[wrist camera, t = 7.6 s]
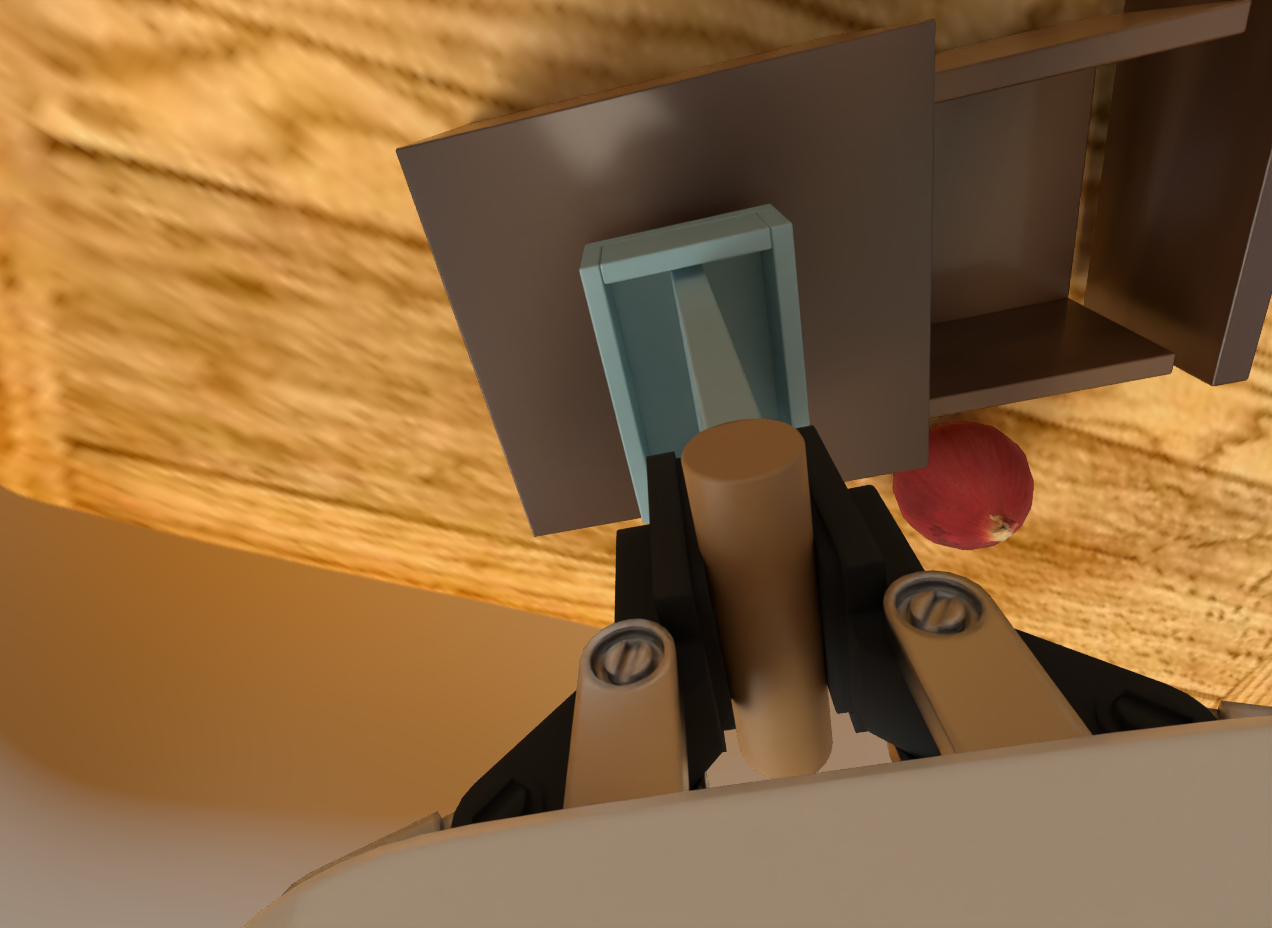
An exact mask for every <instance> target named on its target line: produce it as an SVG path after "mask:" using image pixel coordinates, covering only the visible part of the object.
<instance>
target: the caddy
mask: <svg viewBox="0 0 1272 928" xmlns="http://www.w3.org/2000/svg"><path fill="white" fill-rule="evenodd" d="M579 272H580V276H581V280H582V284H583V288H584V292H585V296H586V300H587V304H588V308H589V312H590V316H591V319H592V323H593V327H594V331H595V335H596V339H597V343H598V347H599V351H600V355H601V359H602V363H603V367H604V371H605V375H606V379H607V383H608V387H609V391H610V395H611V399H612V403H613V407H614V411H615V415H616V419H617V423H618V427H619V431H620V435H621V439H622V443H623V447H624V451H625V455H626V459H627V463H628V467H629V471H630V475H631V479H632V482H633V486H634V490H635V494H636V498H637V502H638V506H639V510H640V514H641V518H642V522H643V523H644V524H645V523H649V504H648V485H647V465H646V456H651V455H656V454H662V453H667V452H672V451H674V452H675V455H676V458H681V462H682V467H683V472H684V477H685V482H686V487H687V492H688V497H689V502H690V507H691V511H692V516H693V521H694V526H695V531H696V536H697V541H698V546H699V550H700V553H701V555H702V557H703V562H704V567H705V572H706V576H707V581H708V586H709V591H710V596H711V601H712V606H713V611H714V616H715V621H716V626H717V631H718V636H719V641H720V646H721V651H722V656H723V661H724V666H725V671H726V676H727V680H728V685H729V690H730V695H731V701H732V707H733V713H734V719H735V725H736V732H737V737H738V742H739V746H740V751H741V753H742V755H743V757H744V759H745V760H746V762H747V763H748V764H749V765H750V766H751V767H752V768H753V769H754V770H755V771H757V772H758V773H760V774H762V775H763V776H765V777H768V778H770V779H777V778H784V777H791V776H798V775H806V774H813V773H816V772H817V771H819V770H820V769H821V768H822V767H823V765H824V764H825V763H826V761H827V760H828V758H829V756H830V753H831V749H832V743H833V742H832V730H831V720H830V708H829V698H828V687H827V680H826V669H825V658H824V648H823V637H822V626H821V615H820V605H819V594H818V583H817V572H816V562H815V551H814V540H813V525H812V514H811V503H810V492H809V482H808V471H807V460H806V449H805V442H804V439H803V437H802V436H801V434H800V433H799V432H798V431H797V430H796V429H795V428H799V427H805V426H810V422H809V411H808V399H807V388H806V376H805V365H804V353H803V342H802V331H801V319H800V308H799V296H798V285H797V273H796V262H795V250H794V239H793V227H792V223H791V222H790V221H789V220H788V219H787V218H785V217H784V216H783V215H782V214H781V213H780V212H779V211H778V210H777V209H776V208H774V207H773V206H772V205H771V204H766V205H762V206H757V207H753V208H748V209H744V210H739V211H734V212H730V213H725V214H721V215H716V216H712V217H707V218H703V219H698V220H694V221H689V222H685V223H680V224H676V225H671V226H667V227H662V228H658V229H653V230H649V231H644V232H639V233H635V234H630V235H626V236H621V237H617V238H612V239H608V240H603V241H599V242H594V243H590V244H586V245H585V248H584V252H583V256H582V261H581V265H580V269H579Z"/></svg>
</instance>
